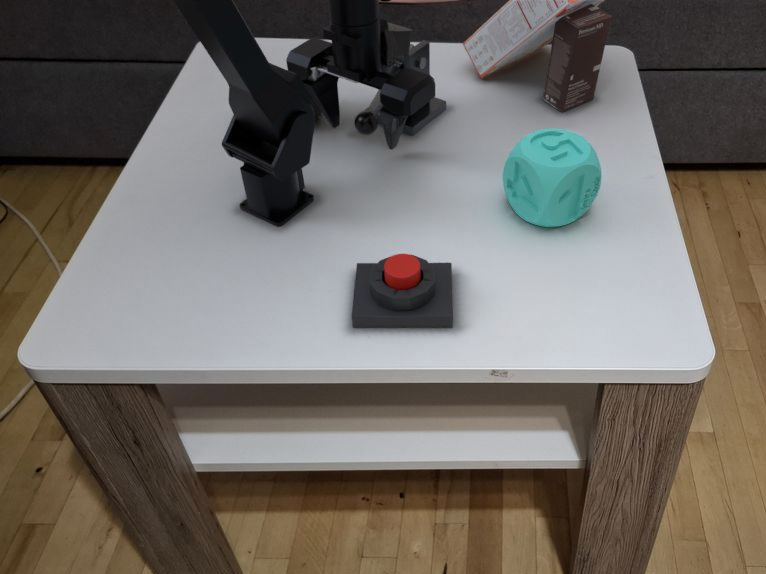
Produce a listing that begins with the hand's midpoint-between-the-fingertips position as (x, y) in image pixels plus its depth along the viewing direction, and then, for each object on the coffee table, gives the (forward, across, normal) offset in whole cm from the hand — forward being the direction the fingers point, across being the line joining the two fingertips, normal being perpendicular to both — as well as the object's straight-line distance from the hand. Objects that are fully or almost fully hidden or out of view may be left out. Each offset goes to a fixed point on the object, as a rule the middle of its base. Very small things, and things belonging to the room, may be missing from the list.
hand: (363, 137), depth 97 cm
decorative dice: (+1, -26, -1) cm, 26 cm away
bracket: (+1, 0, -9) cm, 9 cm away
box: (+1, -17, -24) cm, 30 cm away
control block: (+1, -21, +21) cm, 30 cm away
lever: (-3, 0, -6) cm, 6 cm away
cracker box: (-1, -3, -30) cm, 30 cm away
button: (-2, -21, +21) cm, 30 cm away
